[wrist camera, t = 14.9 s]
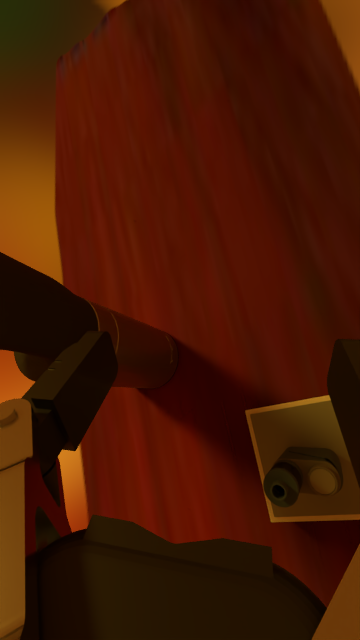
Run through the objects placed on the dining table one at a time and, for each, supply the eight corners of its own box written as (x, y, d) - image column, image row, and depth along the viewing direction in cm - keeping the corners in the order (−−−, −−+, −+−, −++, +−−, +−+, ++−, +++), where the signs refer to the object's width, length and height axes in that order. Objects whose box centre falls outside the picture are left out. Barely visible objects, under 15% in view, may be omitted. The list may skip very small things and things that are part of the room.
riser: (277, 509, 33) (270, 523, 29) (252, 409, 36) (244, 410, 33) (388, 503, 28) (397, 519, 25) (348, 392, 32) (350, 391, 29)
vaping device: (281, 444, 30) (257, 468, 20) (338, 447, 28) (344, 476, 18) (284, 471, 29) (260, 511, 19) (342, 476, 27) (351, 525, 17)
